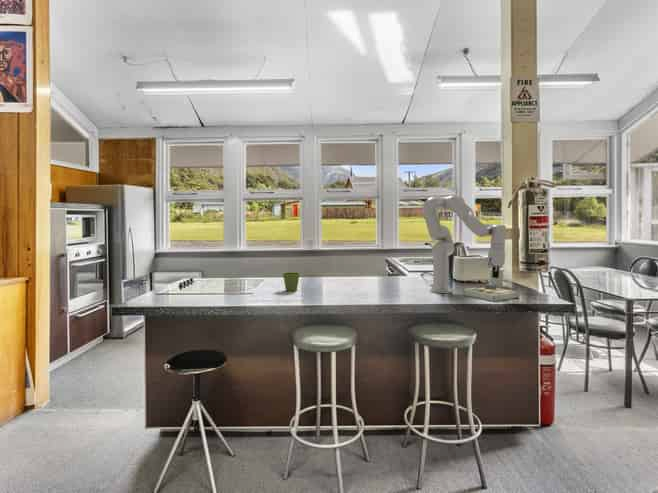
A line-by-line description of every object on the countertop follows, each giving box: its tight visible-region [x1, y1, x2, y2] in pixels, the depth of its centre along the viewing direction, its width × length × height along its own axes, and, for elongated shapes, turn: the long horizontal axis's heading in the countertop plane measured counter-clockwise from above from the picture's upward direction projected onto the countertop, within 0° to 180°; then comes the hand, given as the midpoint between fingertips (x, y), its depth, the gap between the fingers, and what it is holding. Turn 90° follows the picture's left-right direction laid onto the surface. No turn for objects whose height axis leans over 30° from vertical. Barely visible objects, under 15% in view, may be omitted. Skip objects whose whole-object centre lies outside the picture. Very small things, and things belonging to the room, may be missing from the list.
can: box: [488, 268, 504, 288], centre depth 278 cm, size 9×9×12 cm
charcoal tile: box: [483, 283, 498, 290], centre depth 253 cm, size 5×5×2 cm
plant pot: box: [282, 271, 301, 292], centre depth 266 cm, size 12×12×11 cm
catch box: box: [462, 287, 507, 303], centre depth 242 cm, size 22×11×4 cm, turn 29°
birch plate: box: [477, 287, 518, 300], centre depth 247 cm, size 20×11×3 cm, turn 29°
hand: (495, 277), depth 238 cm, fingers closed
